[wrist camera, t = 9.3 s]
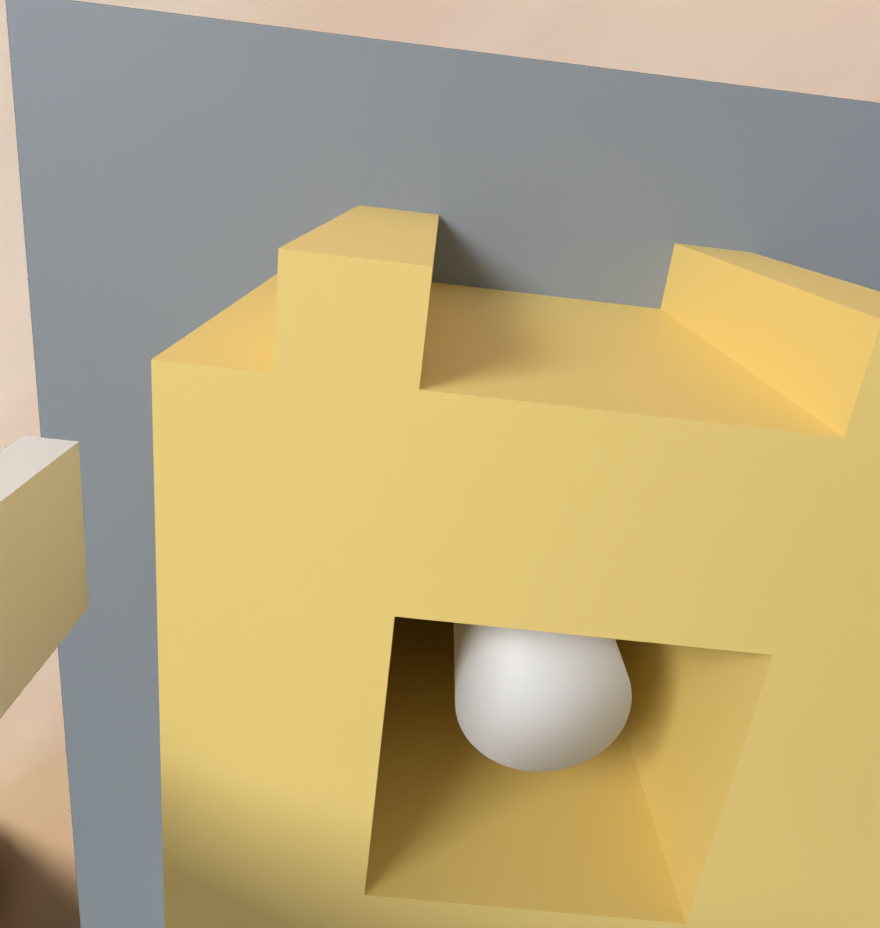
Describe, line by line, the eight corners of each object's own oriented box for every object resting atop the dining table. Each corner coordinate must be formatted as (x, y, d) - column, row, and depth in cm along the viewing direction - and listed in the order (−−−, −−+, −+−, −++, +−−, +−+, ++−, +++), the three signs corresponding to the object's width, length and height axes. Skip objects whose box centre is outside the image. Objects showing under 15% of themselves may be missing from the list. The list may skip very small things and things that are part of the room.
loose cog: (292, 197, 12) (147, 232, 6) (816, 260, 12) (1147, 351, 6) (269, 731, 15) (167, 1064, 10) (670, 770, 15) (797, 1115, 10)
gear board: (56, 11, 12) (-490, -195, 5) (1053, 137, 13) (1819, 110, 6) (117, 1029, 21) (-49, 1469, 14) (703, 1076, 21) (827, 1523, 14)
